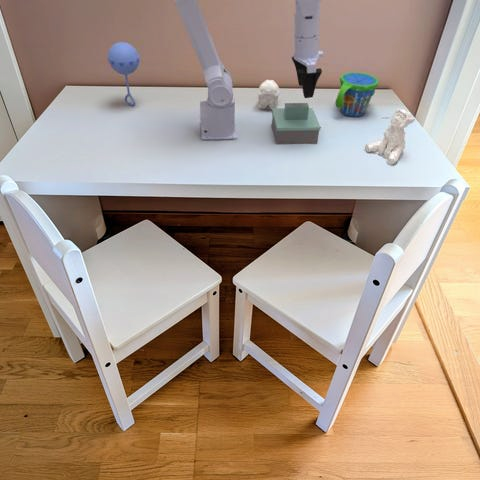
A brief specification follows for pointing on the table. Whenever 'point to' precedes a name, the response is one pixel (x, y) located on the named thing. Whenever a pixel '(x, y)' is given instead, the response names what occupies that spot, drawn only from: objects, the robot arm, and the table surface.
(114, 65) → the baby rattle
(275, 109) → the lid
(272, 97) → the white lumpy piece
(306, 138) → the storage box
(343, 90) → the snack cup
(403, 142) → the sitting furry creature
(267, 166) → the table surface
